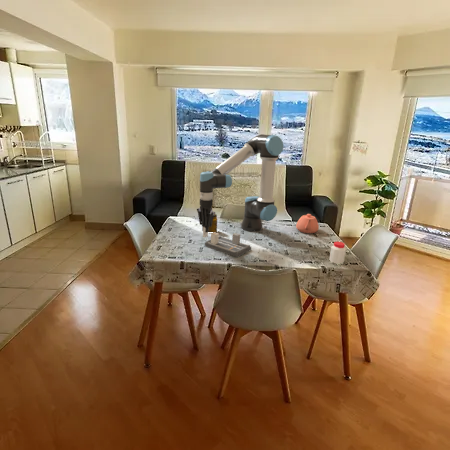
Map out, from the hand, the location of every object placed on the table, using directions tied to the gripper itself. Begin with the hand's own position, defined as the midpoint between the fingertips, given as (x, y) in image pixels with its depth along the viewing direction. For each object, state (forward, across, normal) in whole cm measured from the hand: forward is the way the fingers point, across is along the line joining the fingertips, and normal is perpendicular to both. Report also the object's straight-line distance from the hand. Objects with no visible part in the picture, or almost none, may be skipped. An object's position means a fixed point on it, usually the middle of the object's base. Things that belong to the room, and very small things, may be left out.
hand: (205, 236), depth 181 cm
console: (+4, +14, +4) cm, 16 cm away
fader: (+2, +7, 0) cm, 8 cm away
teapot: (+5, +37, +67) cm, 77 cm away
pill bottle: (+5, +70, +30) cm, 77 cm away
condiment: (+5, -12, +19) cm, 23 cm away
